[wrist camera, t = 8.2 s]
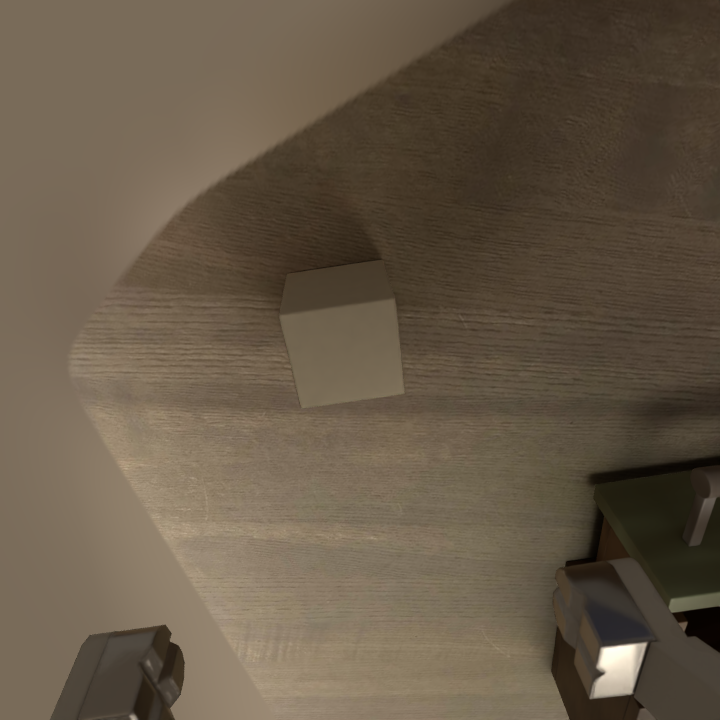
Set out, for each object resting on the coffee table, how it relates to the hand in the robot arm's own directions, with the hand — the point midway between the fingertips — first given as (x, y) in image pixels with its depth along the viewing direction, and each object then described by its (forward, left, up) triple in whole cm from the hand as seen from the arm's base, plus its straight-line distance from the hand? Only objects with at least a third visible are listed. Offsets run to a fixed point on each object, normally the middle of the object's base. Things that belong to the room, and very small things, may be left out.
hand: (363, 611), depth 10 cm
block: (0, 0, -15) cm, 15 cm away
